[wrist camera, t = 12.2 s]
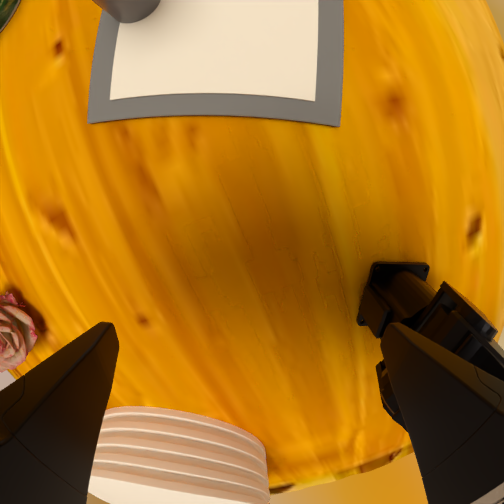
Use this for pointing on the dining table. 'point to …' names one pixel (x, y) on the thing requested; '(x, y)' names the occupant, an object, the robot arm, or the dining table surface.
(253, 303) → the dining table surface
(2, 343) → the flower
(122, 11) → the marker
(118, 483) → the plate stack
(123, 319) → the dining table surface
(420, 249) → the dining table surface
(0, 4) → the canned tomato
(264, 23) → the writing mat
